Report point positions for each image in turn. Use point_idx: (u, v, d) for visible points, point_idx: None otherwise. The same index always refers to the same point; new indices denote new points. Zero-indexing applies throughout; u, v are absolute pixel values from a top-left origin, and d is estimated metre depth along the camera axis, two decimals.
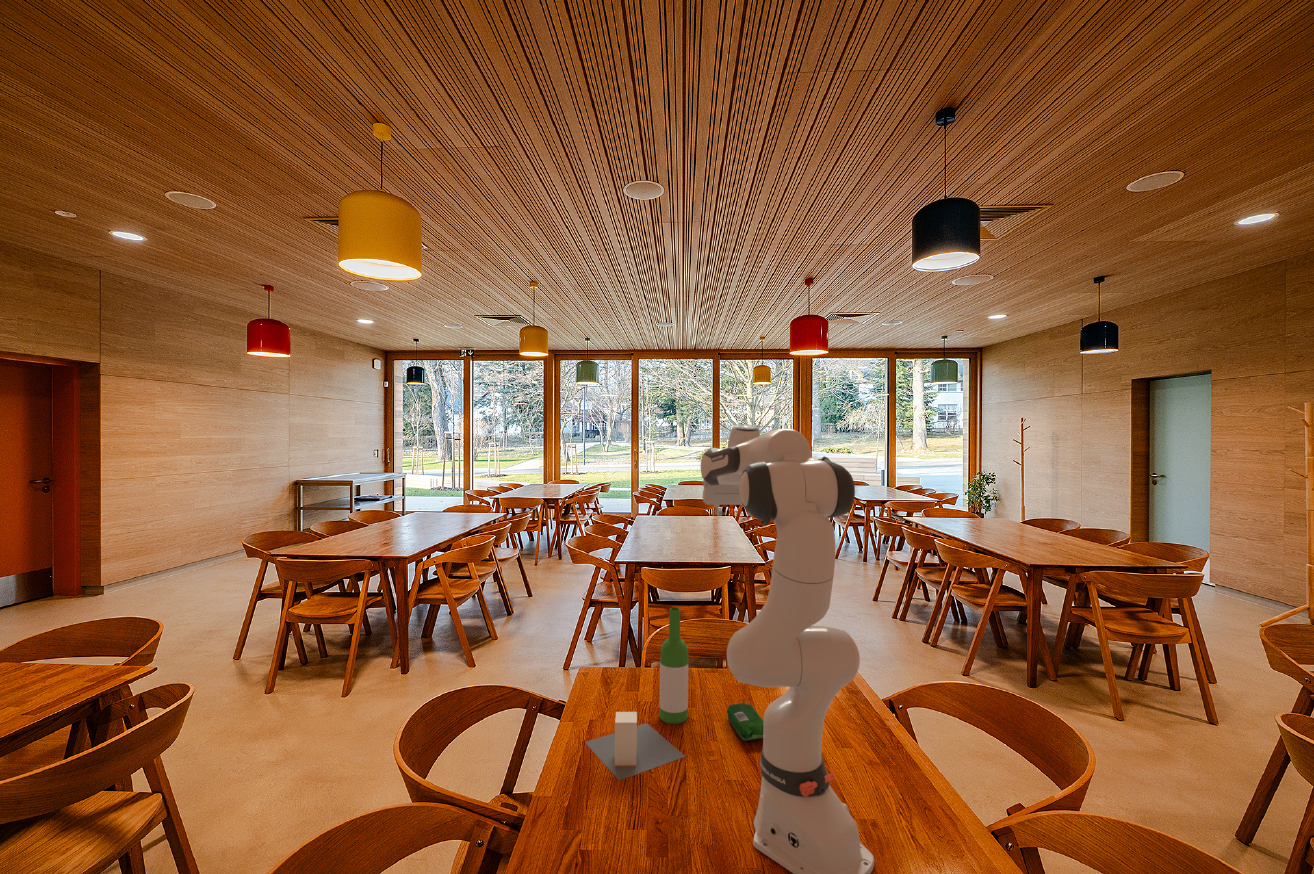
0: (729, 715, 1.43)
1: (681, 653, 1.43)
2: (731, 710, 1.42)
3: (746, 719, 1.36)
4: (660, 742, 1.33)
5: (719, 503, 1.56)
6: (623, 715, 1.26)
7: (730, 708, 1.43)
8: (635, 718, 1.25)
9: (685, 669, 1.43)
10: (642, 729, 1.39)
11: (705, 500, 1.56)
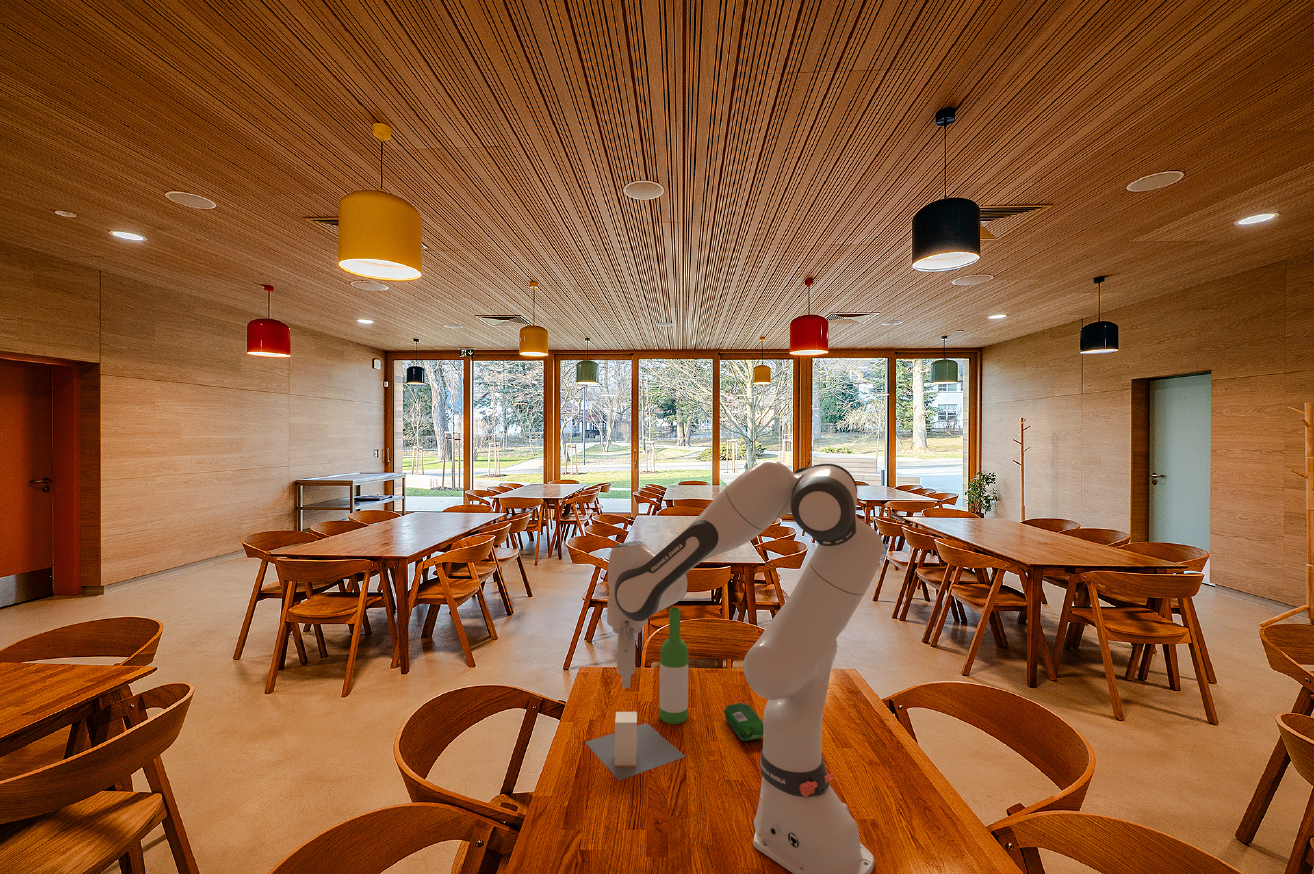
0: (727, 715, 1.42)
1: (681, 653, 1.43)
2: (729, 710, 1.42)
3: (745, 719, 1.36)
4: (660, 742, 1.33)
5: None
6: (623, 715, 1.26)
7: (728, 708, 1.43)
8: (635, 718, 1.25)
9: (685, 669, 1.43)
10: (642, 729, 1.39)
11: (634, 667, 1.08)
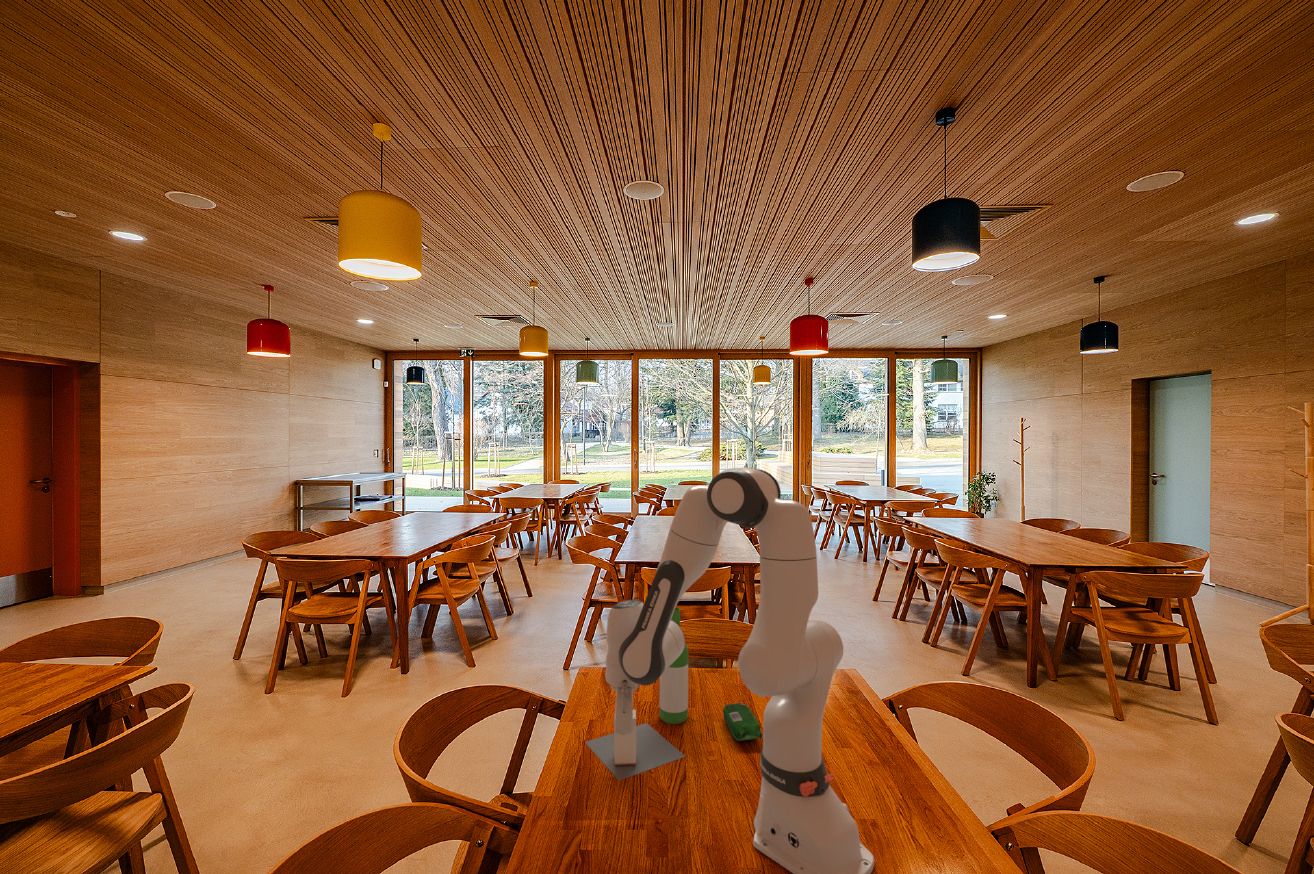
0: (724, 715, 1.43)
1: None
2: (726, 710, 1.42)
3: (740, 719, 1.36)
4: (660, 742, 1.33)
5: None
6: None
7: (726, 708, 1.43)
8: (634, 715, 1.26)
9: (685, 669, 1.43)
10: (642, 729, 1.39)
11: None
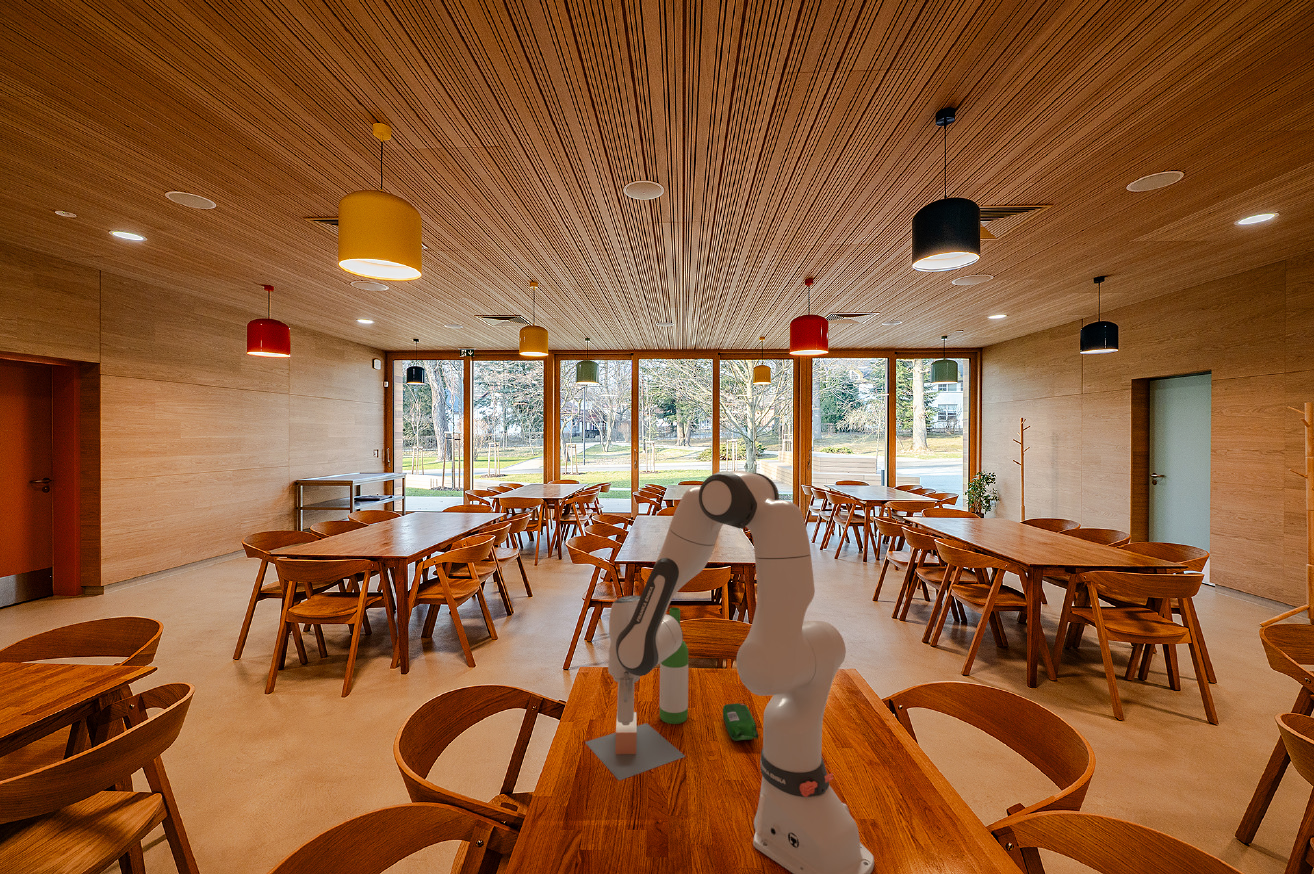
0: (723, 714, 1.43)
1: (681, 653, 1.43)
2: (725, 709, 1.42)
3: (737, 719, 1.36)
4: (660, 742, 1.33)
5: None
6: None
7: (724, 707, 1.43)
8: None
9: (685, 669, 1.43)
10: (642, 729, 1.39)
11: (633, 715, 1.18)
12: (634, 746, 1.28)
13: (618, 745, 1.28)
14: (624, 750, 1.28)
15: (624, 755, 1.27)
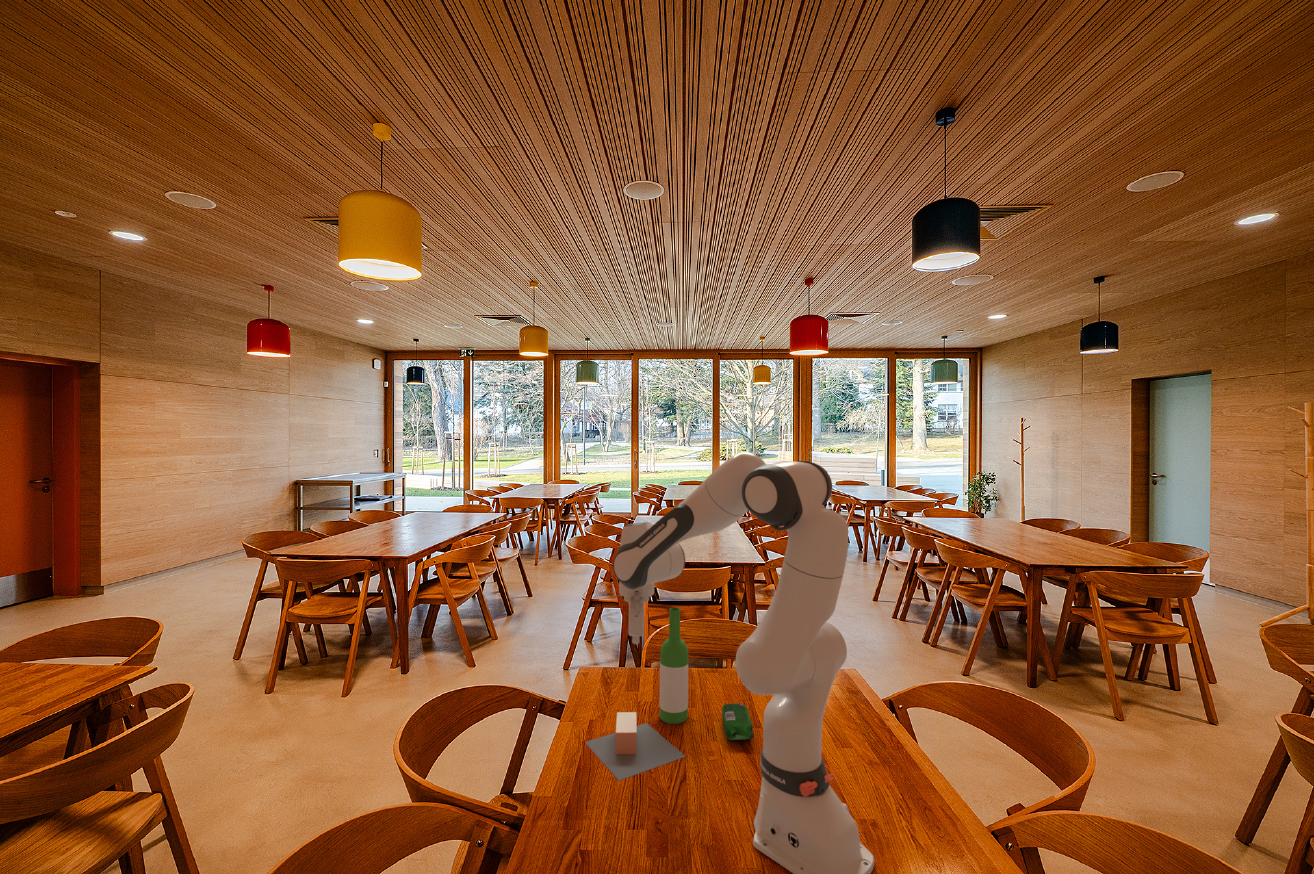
0: (722, 714, 1.43)
1: (681, 653, 1.43)
2: (723, 709, 1.43)
3: (733, 719, 1.36)
4: (660, 742, 1.33)
5: None
6: None
7: (723, 707, 1.44)
8: None
9: (685, 669, 1.43)
10: (642, 729, 1.39)
11: (643, 629, 1.24)
12: (634, 746, 1.28)
13: (618, 745, 1.28)
14: (624, 750, 1.28)
15: (624, 755, 1.27)
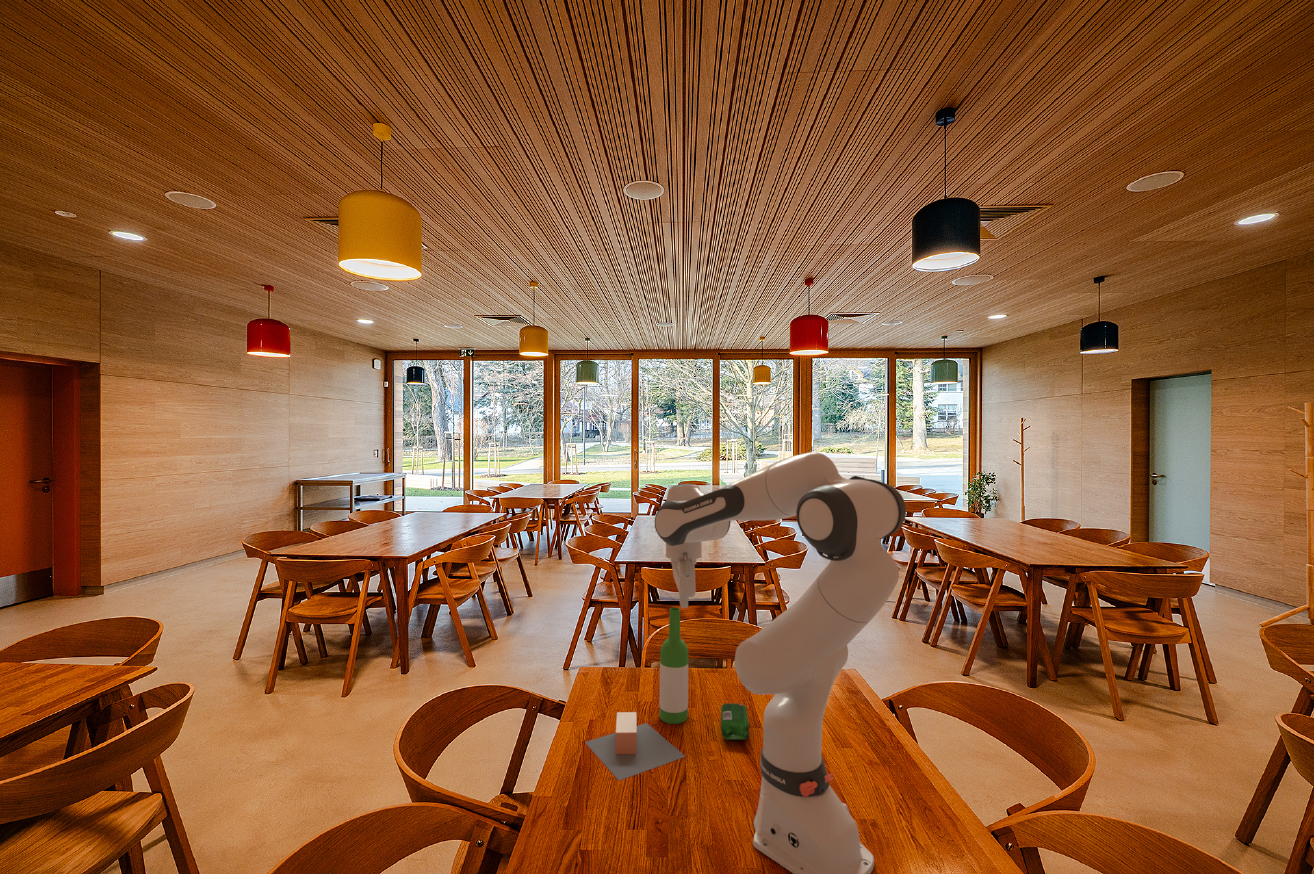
0: None
1: (681, 653, 1.43)
2: (722, 708, 1.43)
3: (729, 718, 1.36)
4: (660, 742, 1.33)
5: None
6: None
7: (722, 706, 1.44)
8: None
9: (685, 669, 1.43)
10: (642, 729, 1.39)
11: (695, 590, 1.22)
12: (634, 746, 1.28)
13: (618, 745, 1.28)
14: (624, 750, 1.28)
15: (624, 755, 1.27)
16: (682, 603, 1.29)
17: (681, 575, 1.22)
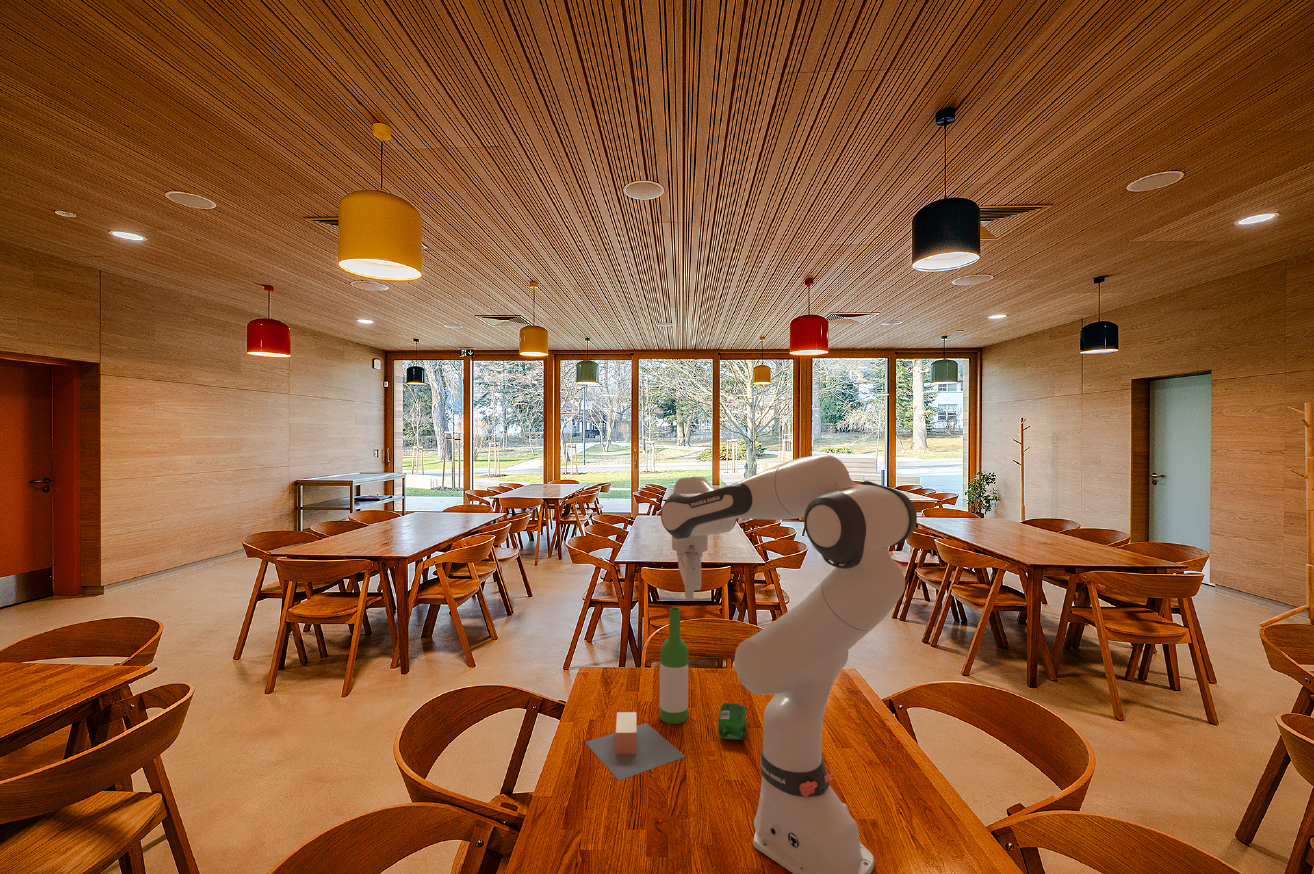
0: None
1: (681, 653, 1.43)
2: (721, 708, 1.43)
3: (727, 718, 1.37)
4: (660, 742, 1.33)
5: None
6: None
7: (721, 706, 1.44)
8: None
9: (685, 669, 1.43)
10: (642, 729, 1.39)
11: None
12: (634, 746, 1.28)
13: (618, 745, 1.28)
14: (624, 750, 1.28)
15: (624, 755, 1.27)
16: (687, 596, 1.29)
17: (687, 568, 1.21)
